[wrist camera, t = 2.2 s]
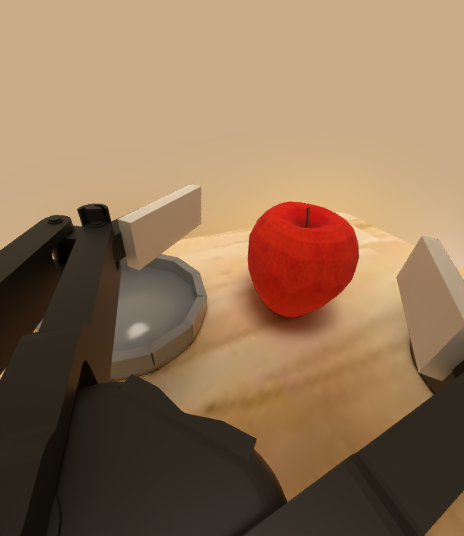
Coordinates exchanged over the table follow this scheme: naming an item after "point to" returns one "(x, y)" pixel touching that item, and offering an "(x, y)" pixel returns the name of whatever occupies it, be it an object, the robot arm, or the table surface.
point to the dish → (155, 315)
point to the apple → (301, 257)
